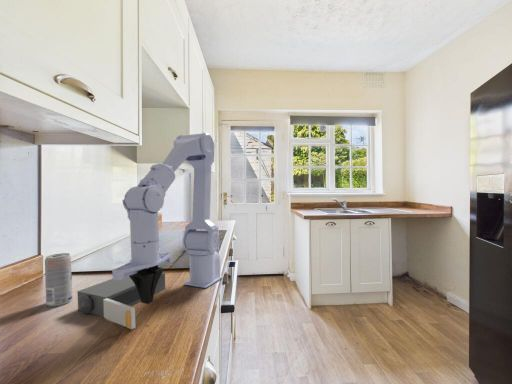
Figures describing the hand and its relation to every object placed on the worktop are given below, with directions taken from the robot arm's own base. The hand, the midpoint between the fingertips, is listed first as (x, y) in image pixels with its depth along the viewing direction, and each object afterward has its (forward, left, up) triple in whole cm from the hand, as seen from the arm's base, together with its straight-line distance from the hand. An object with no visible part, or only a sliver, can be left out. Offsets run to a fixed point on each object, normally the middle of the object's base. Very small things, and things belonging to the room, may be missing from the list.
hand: (147, 302), depth 58 cm
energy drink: (+3, -27, -4) cm, 28 cm away
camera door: (+5, -3, -3) cm, 6 cm away
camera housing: (-5, -13, -3) cm, 15 cm away
